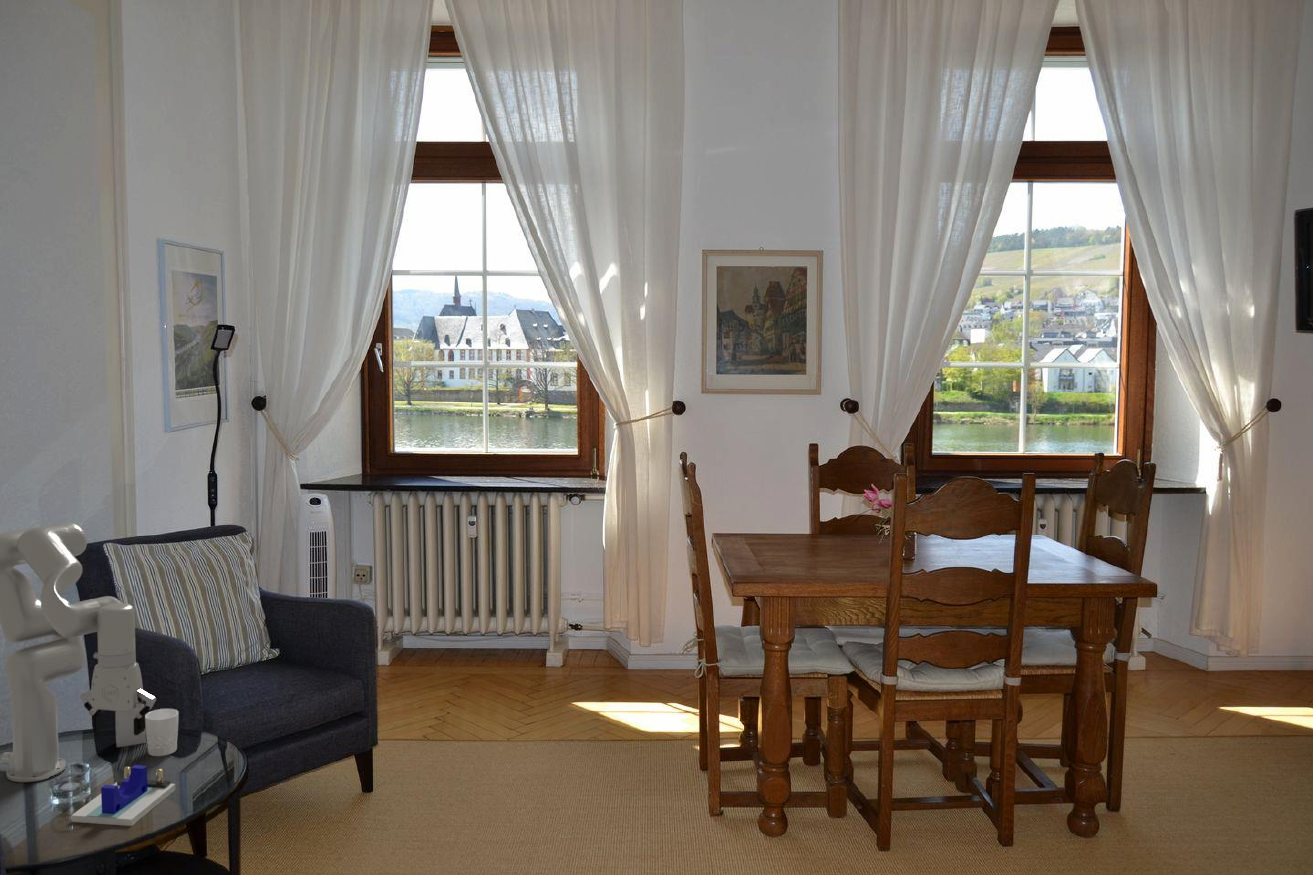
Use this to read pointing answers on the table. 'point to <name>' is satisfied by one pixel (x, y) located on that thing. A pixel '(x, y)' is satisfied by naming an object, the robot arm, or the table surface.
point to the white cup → (161, 731)
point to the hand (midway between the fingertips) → (119, 731)
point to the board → (126, 814)
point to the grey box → (127, 730)
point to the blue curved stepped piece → (124, 790)
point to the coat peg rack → (150, 783)
